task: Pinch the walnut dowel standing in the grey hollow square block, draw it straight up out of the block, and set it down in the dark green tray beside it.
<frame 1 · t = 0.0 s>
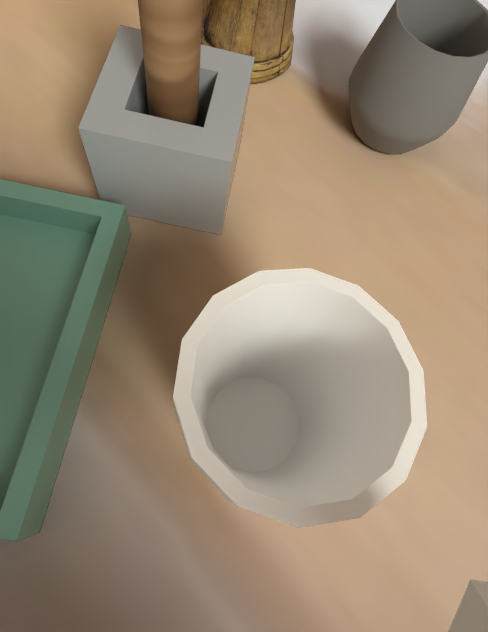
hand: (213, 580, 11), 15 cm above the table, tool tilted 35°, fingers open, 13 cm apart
grey hollow square block: (175, 175, 33), on the table
wooden mug: (221, 53, 39), on the table
dowel: (175, 167, 32), point 1 cm above the table, touching grey hollow square block
foam cup: (251, 424, 27), on the table
cup: (382, 131, 38), on the table
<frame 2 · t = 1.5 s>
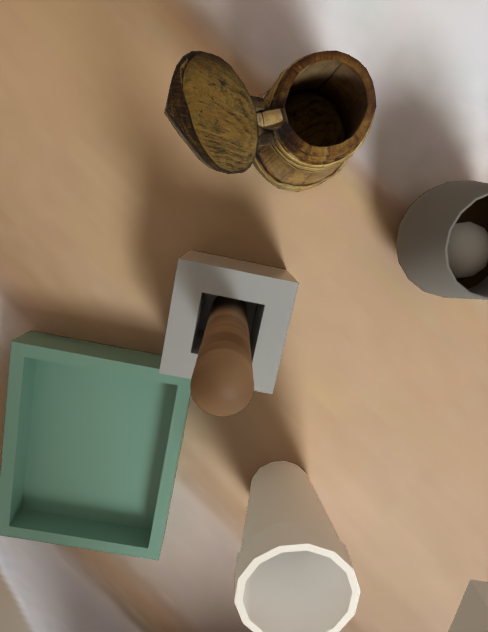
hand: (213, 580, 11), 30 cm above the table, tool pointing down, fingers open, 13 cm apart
tray: (101, 439, 42), on the table
grey hollow square block: (229, 306, 39), on the table
wooden mug: (274, 143, 36), on the table
dowel: (229, 309, 38), point 1 cm above the table, touching grey hollow square block
foam cup: (279, 486, 44), on the table
cup: (432, 237, 38), on the table
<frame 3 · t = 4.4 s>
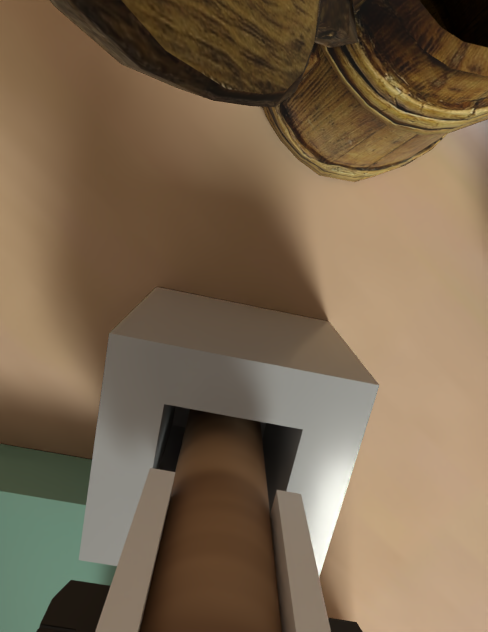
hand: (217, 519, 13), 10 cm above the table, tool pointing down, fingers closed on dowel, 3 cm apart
tray: (16, 590, 26), on the table
grey hollow square block: (226, 384, 22), on the table
wooden mug: (312, 88, 19), on the table
dowel: (226, 392, 22), point 1 cm above the table, touching grey hollow square block, gripper
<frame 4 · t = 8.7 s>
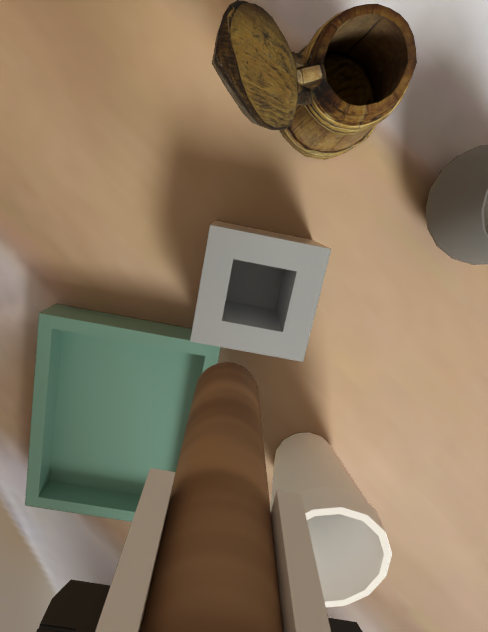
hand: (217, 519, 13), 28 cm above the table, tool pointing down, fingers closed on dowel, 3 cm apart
tray: (127, 411, 43), on the table
grey hollow square block: (254, 278, 39), on the table
wooden mug: (301, 109, 36), on the table
dowel: (226, 391, 22), point 19 cm above the table, touching gripper
foam cup: (303, 457, 45), on the table
cup: (459, 206, 38), on the table
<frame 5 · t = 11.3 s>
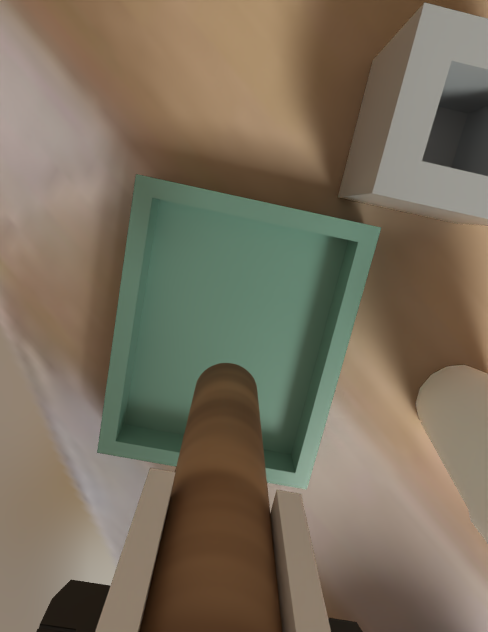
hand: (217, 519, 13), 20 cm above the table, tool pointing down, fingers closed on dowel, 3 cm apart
tray: (230, 333, 32), on the table
grey hollow square block: (416, 145, 29), on the table
dowel: (226, 392, 21), point 11 cm above the table, touching gripper
foam cup: (453, 399, 34), on the table
when the fingers open (11 cm above the table, at t = 13.2 s): dowel drops 2 cm, resting on tray.
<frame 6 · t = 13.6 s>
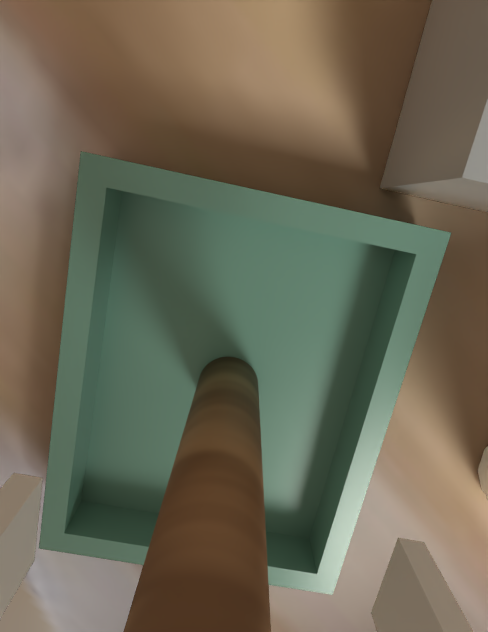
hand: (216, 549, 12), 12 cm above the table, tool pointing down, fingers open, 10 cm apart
tray: (227, 376, 23), on the table
dowel: (228, 384, 22), point 1 cm above the table, touching tray
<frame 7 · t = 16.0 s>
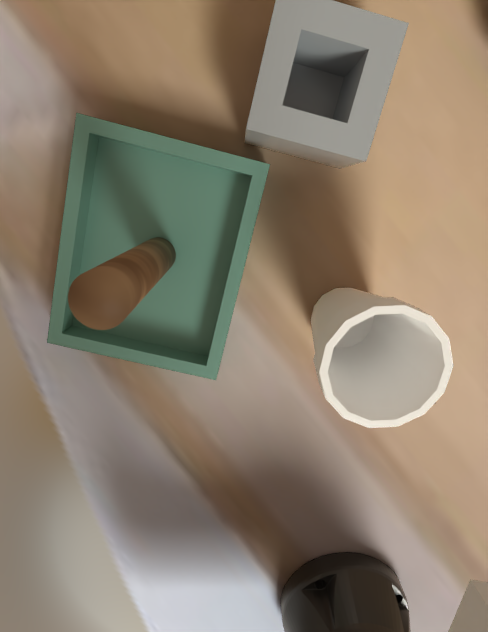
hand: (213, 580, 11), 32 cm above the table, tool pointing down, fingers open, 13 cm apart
tray: (159, 253, 40), on the table
grey hollow square block: (306, 102, 37), on the table
dowel: (158, 254, 39), point 1 cm above the table, touching tray
foam cup: (341, 317, 42), on the table
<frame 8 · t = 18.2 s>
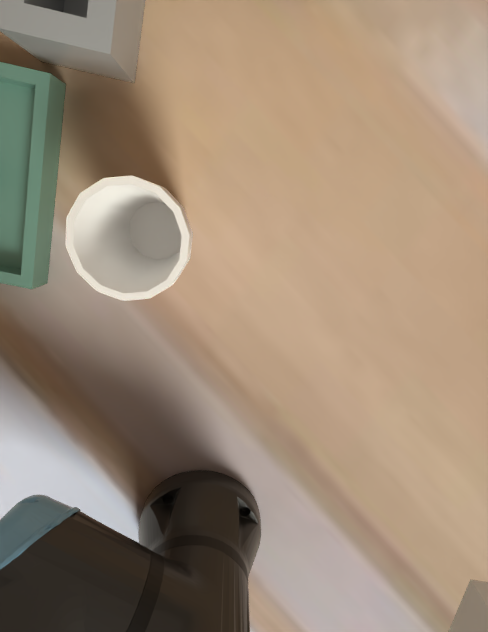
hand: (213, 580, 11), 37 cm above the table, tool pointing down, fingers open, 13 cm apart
grey hollow square block: (93, 20, 39), on the table
foam cup: (159, 230, 45), on the table
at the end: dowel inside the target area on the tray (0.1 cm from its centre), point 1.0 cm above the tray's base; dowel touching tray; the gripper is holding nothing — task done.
